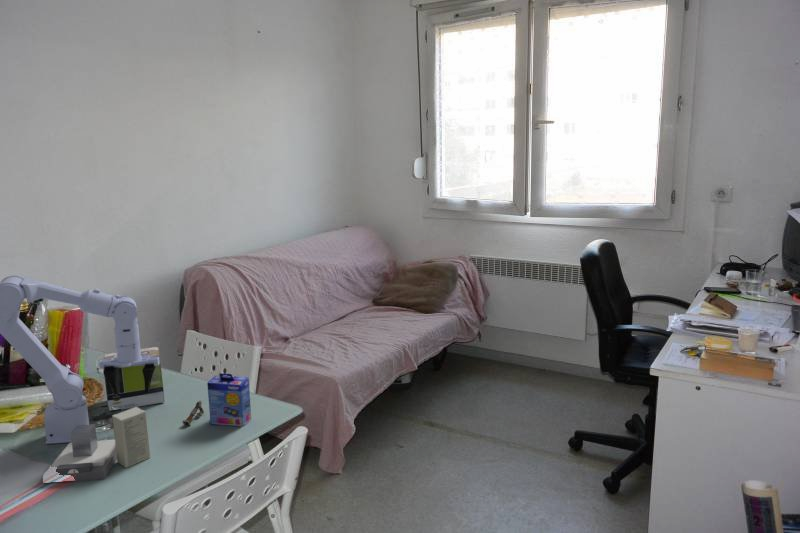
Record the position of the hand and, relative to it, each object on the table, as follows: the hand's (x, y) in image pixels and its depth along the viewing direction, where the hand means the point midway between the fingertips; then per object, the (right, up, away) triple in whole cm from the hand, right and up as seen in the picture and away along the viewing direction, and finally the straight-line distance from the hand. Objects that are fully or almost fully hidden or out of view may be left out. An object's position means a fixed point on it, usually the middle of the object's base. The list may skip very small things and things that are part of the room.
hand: (132, 392), depth 157 cm
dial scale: (-3, -13, -18) cm, 23 cm away
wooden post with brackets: (+15, -9, +5) cm, 18 cm away
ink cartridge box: (+25, -9, +4) cm, 27 cm away
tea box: (-6, -7, +17) cm, 19 cm away
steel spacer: (-3, -10, -18) cm, 21 cm away
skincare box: (+8, -13, -16) cm, 22 cm away
